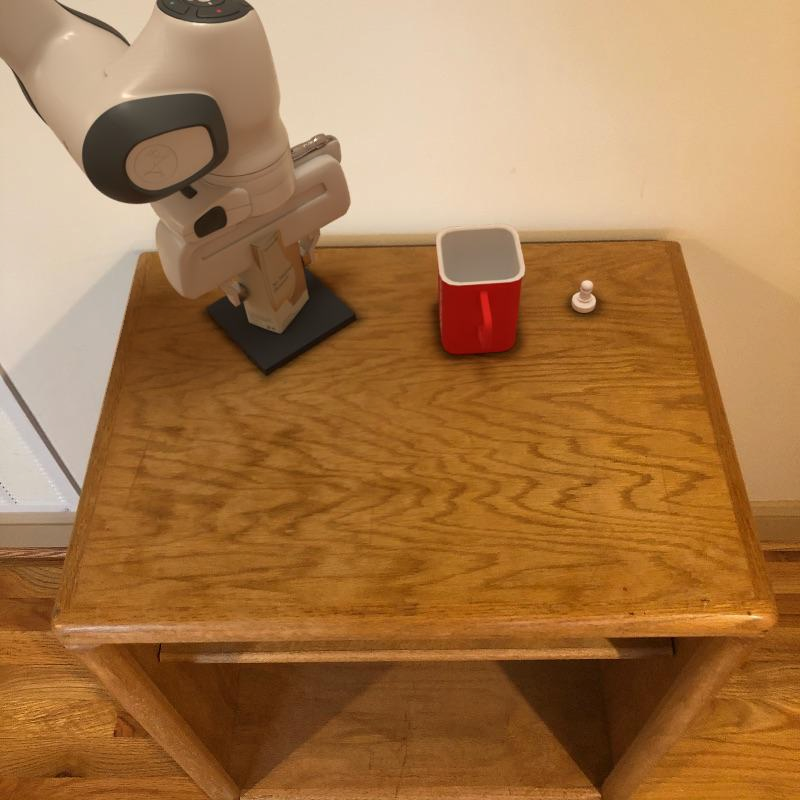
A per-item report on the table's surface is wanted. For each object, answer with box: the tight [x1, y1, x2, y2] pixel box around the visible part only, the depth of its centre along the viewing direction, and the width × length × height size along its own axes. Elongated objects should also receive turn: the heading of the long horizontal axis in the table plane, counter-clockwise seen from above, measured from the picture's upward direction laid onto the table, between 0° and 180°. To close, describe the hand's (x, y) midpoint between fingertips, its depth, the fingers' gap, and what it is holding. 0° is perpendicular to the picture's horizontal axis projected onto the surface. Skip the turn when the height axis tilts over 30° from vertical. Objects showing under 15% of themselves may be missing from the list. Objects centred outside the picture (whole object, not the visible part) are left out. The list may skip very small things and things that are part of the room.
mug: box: [435, 223, 526, 355], centre depth 80 cm, size 12×8×11 cm
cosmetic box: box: [236, 229, 309, 334], centre depth 81 cm, size 6×4×12 cm
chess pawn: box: [571, 279, 597, 314], centre depth 85 cm, size 3×3×4 cm
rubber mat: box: [205, 266, 357, 376], centre depth 87 cm, size 12×12×1 cm
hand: (272, 280), depth 83 cm, fingers closed on cosmetic box, 7 cm apart
